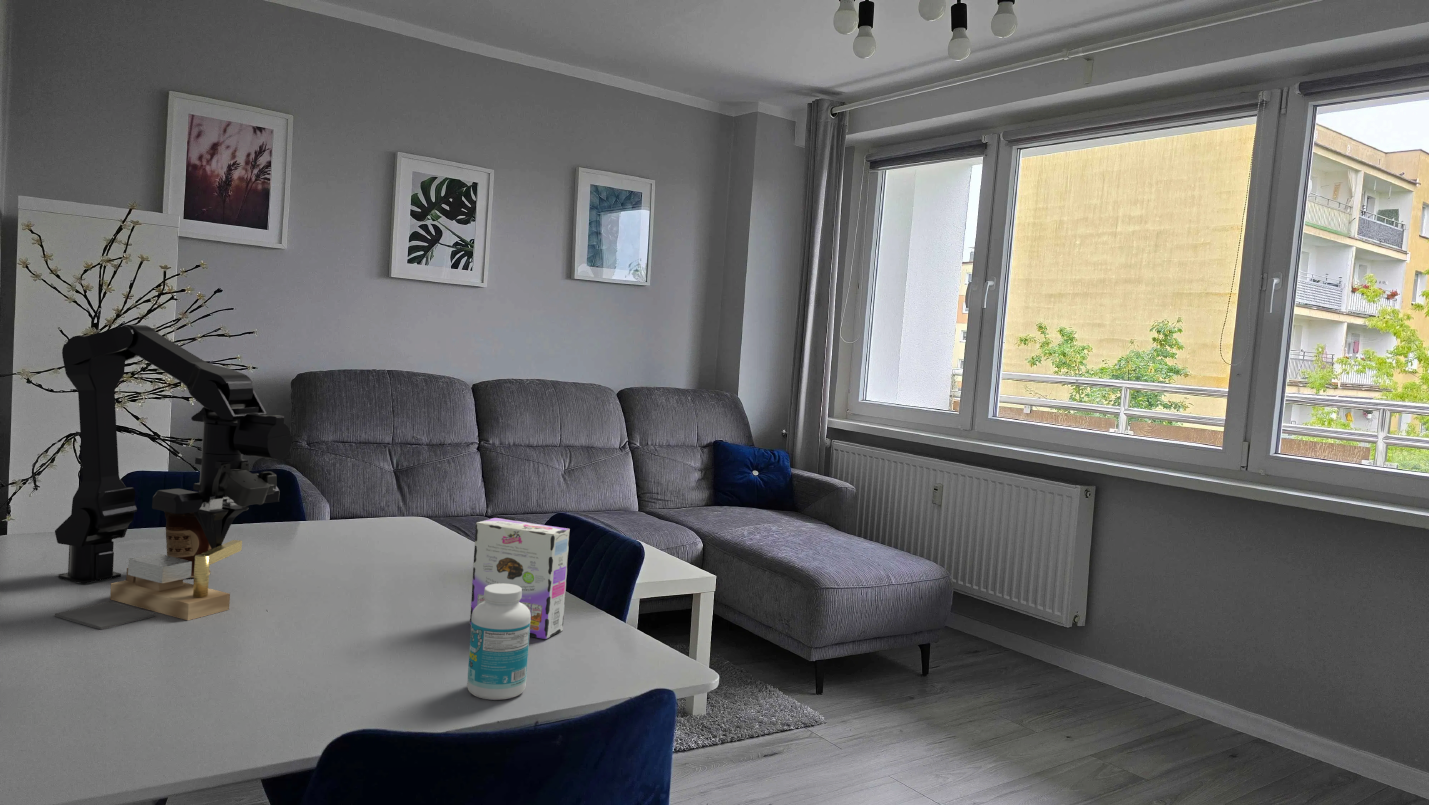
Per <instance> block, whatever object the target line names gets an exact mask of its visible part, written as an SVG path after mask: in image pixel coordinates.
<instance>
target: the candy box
mask: <svg viewBox="0 0 1429 805" xmlns="http://www.w3.org/2000/svg"><path fill="white" fill-rule="evenodd" d="M570 530H571V529H570V528H568V527H567V528H566V527H559V526H552V525H545V524H539V523H538V524H537V523H533V522H527V521H526V522H525V521H520V520H512V519H507V518H506V519H505V518H500V517H499V518H498V517H493V518H487V519H485V520H481V521H477V522H475V531H474V532H475V534H474V552H473V564H472V565H473V566H472V567H473V568H472V579H471V580H472V582H471V599H470V615H469V616H470V618H469V625H470V626H471V618H472V612H473V610H474V608H475V607H476V606H477V605H479V604H480V603H483V602H485V601H486V600H485V599H484V589H485V587H486V586H488V585H491V584H500V583H505V584H514V585H517V586H520V587H521V588H522V597H521V599H520V601H519V602H520V603H522V604H524V605H525V606H526V607H527V608H528V609H529V611H530V614H531V622H530V635H529V637H533V638H536V639H543V640H547V639H549V638H551V637H553V636H554V635H557V634H558V633H561V632H562V631H563V629H564V620H565V619H564V617H565V616H564V615H565V604H566V603H565V601H566V590H567V575H568V560H569V559H568V558H569V546H570Z"/></svg>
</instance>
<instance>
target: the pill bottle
mask: <svg viewBox="0 0 1429 805" xmlns="http://www.w3.org/2000/svg"><path fill="white" fill-rule="evenodd" d="M521 597H522V588H521V587H520V586H517V585H514V584H505V583H500V584H491V585H488V586H486V587H485V589H484V599H485V600H486V601H485V602H483V603H480V604H479V605H477V606H476V607H475V608H474V610H473V612H472V618H471V625H470V634H469V635H470V636H469V638H470V640H469V651H468V652H469V653H468V654H469V655H468V668H467V682H466V686H467V690H468V692H469V693H470V694H472V695H473V696H475V697H477V698H480V699H483V700H489V701H490V700H491V701H501V700H508V699H513V698H515V697H518V696H520V695H521V694H522V693H523V692H524V691H525V689H526V685H527V677H528V676H527V675H528V660H529V648H530V646H529V645H530V636H529V635H530V622H531V614H530V611H529V609H528V608H527V607H526V606H525V605H524V604H522V603H520V602H519V601H520V599H521Z"/></svg>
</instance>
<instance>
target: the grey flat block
mask: <svg viewBox="0 0 1429 805" xmlns="http://www.w3.org/2000/svg"><path fill="white" fill-rule="evenodd" d="M127 568H128V575H131V576H135V577H139V578H142V579H146V580H150V581H154V582H158V583H167V582H172V581H176V580H181V579H183V580H186V579H189V578H192V577H191V568H192V561H188V560H184V559H179V558H175V557H171V556H167V554H162V553H154V554H153V553H152V554H147V555H142V556H136V557H132V558H128V567H127Z"/></svg>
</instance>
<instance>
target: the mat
mask: <svg viewBox="0 0 1429 805" xmlns="http://www.w3.org/2000/svg"><path fill="white" fill-rule="evenodd" d="M54 617H56V618H59V619H63V620H67V621H70V622H73V623H76V624H80V625H82V626H83V625H84V626H87V627H91V628H94V629H97V630H101V631H102V630H106V629H109V628H110V629H111V628H114V627H118V626H122V625H126V624H129V623H133V622H137V621H141V620H145V619H150V618H154V617H156V613H153V612H150V611H148V610H147V611H146V610H144V609H139V608H135V607H132V606H128V605H125V604H120V603H116V602H115V601H114V602H113V601H111V600H109V601H105V602H100V603H95V604H90V605H87V606H82V607H77V608H74V609H68V610H65V611H60V612H55V613H54Z"/></svg>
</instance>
